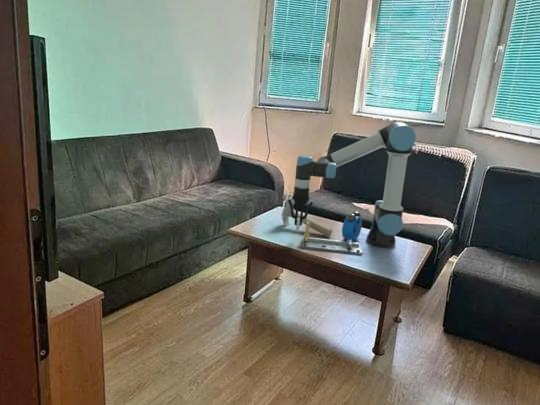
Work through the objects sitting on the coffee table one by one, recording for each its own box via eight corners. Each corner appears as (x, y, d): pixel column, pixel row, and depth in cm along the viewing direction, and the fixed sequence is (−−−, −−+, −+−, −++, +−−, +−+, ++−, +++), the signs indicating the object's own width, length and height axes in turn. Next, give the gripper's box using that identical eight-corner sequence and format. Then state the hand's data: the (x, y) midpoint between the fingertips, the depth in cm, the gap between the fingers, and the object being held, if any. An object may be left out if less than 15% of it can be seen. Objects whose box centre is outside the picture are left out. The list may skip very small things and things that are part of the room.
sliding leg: (308, 238, 230) (310, 221, 228) (308, 244, 223) (310, 226, 220) (303, 238, 231) (305, 220, 228) (303, 243, 223) (305, 225, 220)
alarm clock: (350, 234, 246) (353, 209, 242) (360, 237, 243) (364, 211, 239) (340, 240, 236) (343, 214, 232) (350, 244, 233) (354, 216, 228)
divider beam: (358, 245, 229) (359, 239, 228) (359, 250, 221) (360, 245, 221) (304, 239, 230) (304, 233, 230) (303, 244, 223) (304, 239, 222)
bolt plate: (359, 246, 230) (360, 243, 229) (362, 255, 219) (362, 251, 219) (302, 240, 232) (302, 237, 231) (301, 248, 221) (301, 244, 221)
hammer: (336, 219, 239) (290, 196, 251) (333, 222, 235) (286, 198, 247) (327, 244, 245) (282, 220, 257) (323, 247, 241) (278, 222, 253)
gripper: (315, 186, 224) (310, 230, 231) (289, 183, 225) (285, 227, 232) (315, 189, 217) (310, 235, 224) (288, 187, 218) (284, 232, 225)
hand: (297, 231), depth 228 cm, fingers closed
